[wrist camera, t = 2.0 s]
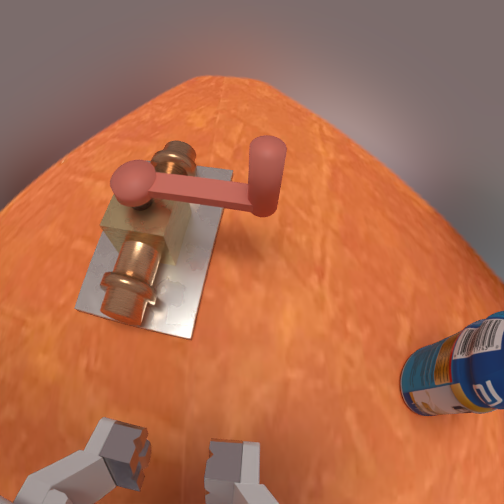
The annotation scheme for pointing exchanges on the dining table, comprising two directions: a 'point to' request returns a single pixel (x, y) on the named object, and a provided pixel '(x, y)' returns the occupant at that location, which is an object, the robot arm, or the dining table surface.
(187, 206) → the valve body
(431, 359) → the beverage bottle
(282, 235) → the dining table surface
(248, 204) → the lever
